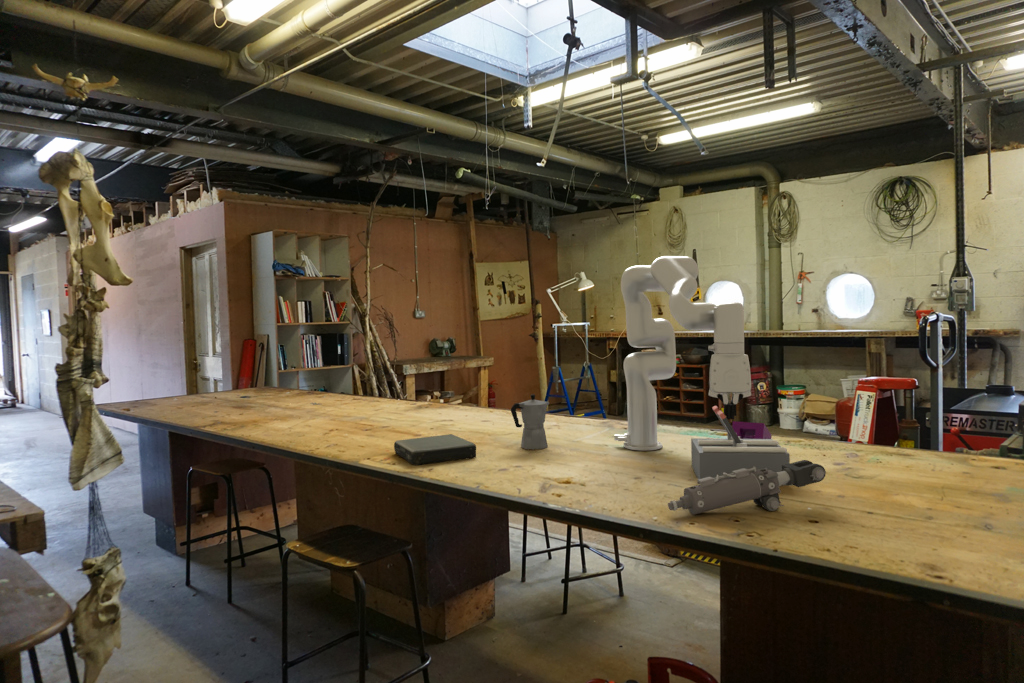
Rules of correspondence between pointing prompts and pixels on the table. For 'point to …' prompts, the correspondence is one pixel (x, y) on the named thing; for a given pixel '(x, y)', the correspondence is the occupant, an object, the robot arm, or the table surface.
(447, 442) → the network switch
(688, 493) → the hydraulic cylinder
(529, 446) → the coffeepot
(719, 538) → the table surface
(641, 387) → the robot arm
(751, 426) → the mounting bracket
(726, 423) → the lever
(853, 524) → the table surface
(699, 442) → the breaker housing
